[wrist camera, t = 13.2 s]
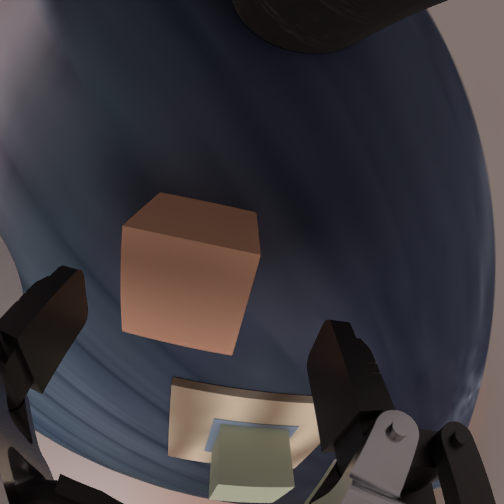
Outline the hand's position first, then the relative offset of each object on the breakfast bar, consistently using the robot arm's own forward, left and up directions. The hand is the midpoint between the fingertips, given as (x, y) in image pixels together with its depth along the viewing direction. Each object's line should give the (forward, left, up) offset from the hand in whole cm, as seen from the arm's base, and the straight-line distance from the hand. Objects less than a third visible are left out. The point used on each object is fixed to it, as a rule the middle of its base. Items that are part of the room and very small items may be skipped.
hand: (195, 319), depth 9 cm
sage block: (+6, -19, -6) cm, 21 cm away
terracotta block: (-1, -1, -7) cm, 7 cm away
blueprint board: (+6, -19, -7) cm, 21 cm away
